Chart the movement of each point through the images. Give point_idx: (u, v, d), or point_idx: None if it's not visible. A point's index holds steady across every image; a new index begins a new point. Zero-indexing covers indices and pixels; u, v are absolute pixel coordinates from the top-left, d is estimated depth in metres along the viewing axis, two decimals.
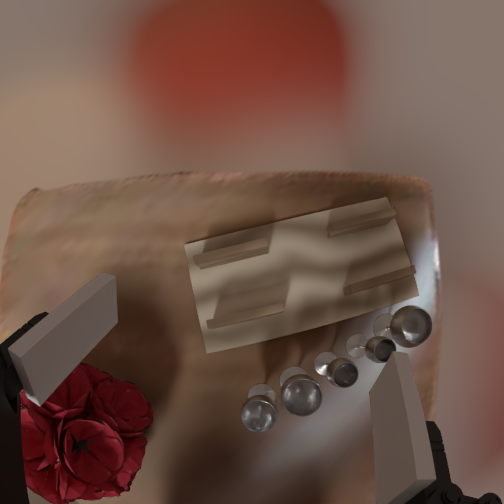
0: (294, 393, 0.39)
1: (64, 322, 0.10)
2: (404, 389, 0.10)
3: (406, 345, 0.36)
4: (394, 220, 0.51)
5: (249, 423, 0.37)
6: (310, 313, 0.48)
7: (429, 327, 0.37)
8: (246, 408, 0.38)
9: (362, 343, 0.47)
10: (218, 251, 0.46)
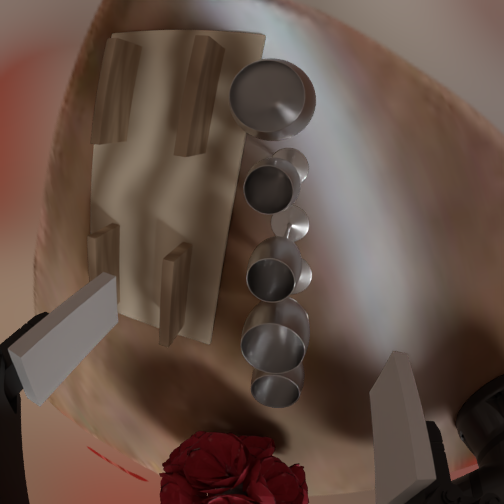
0: None
1: (64, 322, 0.10)
2: (404, 389, 0.10)
3: (297, 128, 0.19)
4: (143, 33, 0.27)
5: (289, 387, 0.28)
6: (208, 211, 0.33)
7: (292, 65, 0.17)
8: (272, 375, 0.30)
9: (288, 159, 0.29)
10: None
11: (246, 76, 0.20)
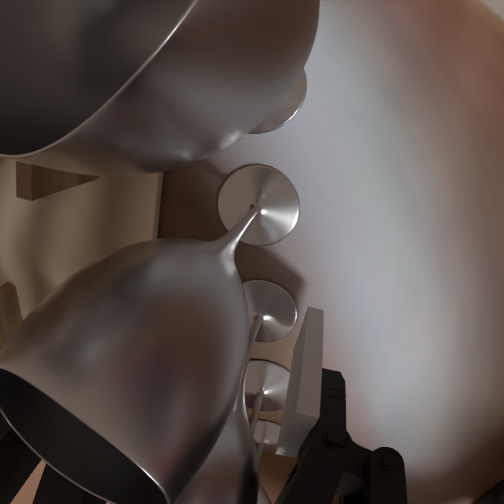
0: None
1: None
2: (308, 336, 0.12)
3: (217, 114, 0.03)
4: None
5: None
6: None
7: None
8: None
9: (256, 190, 0.14)
10: None
11: None
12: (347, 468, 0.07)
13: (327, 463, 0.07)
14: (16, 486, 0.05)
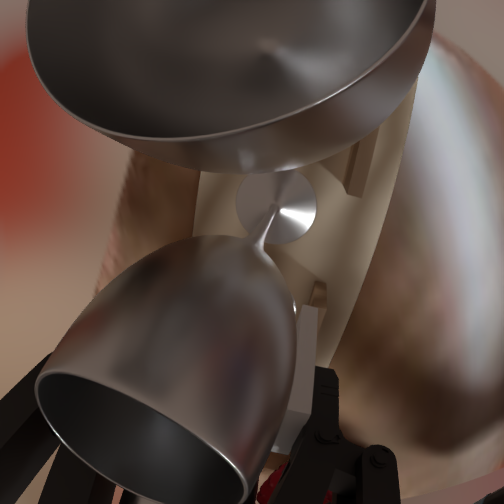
0: None
1: None
2: (301, 334, 0.13)
3: (338, 141, 0.03)
4: None
5: None
6: (349, 249, 0.30)
7: None
8: None
9: (278, 189, 0.14)
10: None
11: None
12: (339, 465, 0.08)
13: (318, 460, 0.07)
14: (20, 488, 0.05)
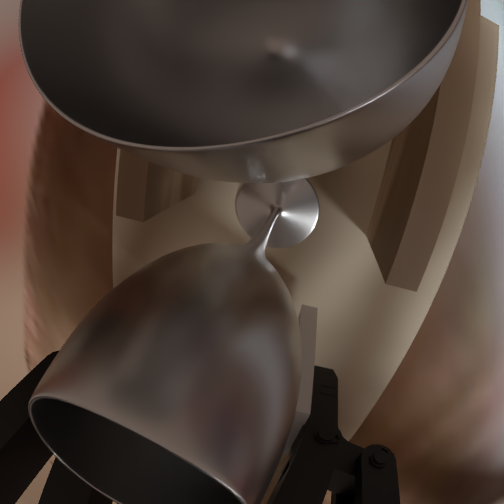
0: None
1: None
2: (301, 334, 0.13)
3: (356, 153, 0.03)
4: None
5: None
6: (370, 345, 0.16)
7: None
8: None
9: (280, 192, 0.14)
10: None
11: None
12: (338, 465, 0.08)
13: (318, 460, 0.07)
14: (20, 488, 0.05)
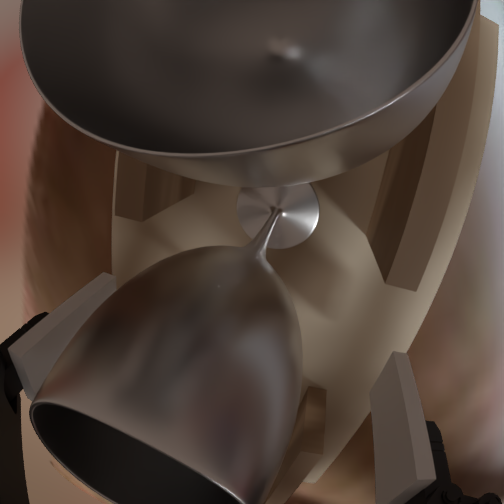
0: None
1: (64, 322, 0.10)
2: (404, 389, 0.10)
3: (361, 159, 0.03)
4: None
5: None
6: (370, 345, 0.16)
7: None
8: None
9: (280, 193, 0.14)
10: None
11: None
12: None
13: None
14: None
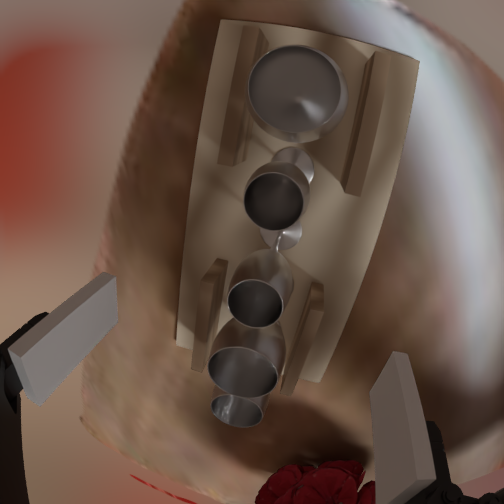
0: None
1: (64, 322, 0.10)
2: (404, 389, 0.10)
3: (320, 134, 0.16)
4: (269, 26, 0.22)
5: (251, 405, 0.26)
6: (347, 250, 0.29)
7: None
8: None
9: (293, 160, 0.26)
10: (196, 343, 0.30)
11: (271, 60, 0.16)
12: None
13: None
14: None
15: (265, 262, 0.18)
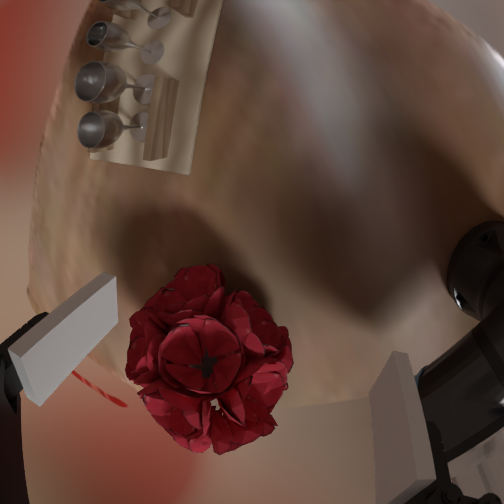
0: None
1: (64, 322, 0.10)
2: (404, 389, 0.10)
3: None
4: None
5: (108, 144, 0.33)
6: (193, 55, 0.36)
7: None
8: None
9: (159, 12, 0.34)
10: None
11: None
12: None
13: None
14: None
15: None
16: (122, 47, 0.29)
